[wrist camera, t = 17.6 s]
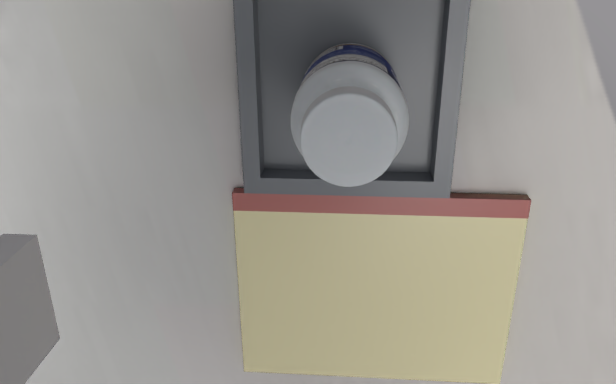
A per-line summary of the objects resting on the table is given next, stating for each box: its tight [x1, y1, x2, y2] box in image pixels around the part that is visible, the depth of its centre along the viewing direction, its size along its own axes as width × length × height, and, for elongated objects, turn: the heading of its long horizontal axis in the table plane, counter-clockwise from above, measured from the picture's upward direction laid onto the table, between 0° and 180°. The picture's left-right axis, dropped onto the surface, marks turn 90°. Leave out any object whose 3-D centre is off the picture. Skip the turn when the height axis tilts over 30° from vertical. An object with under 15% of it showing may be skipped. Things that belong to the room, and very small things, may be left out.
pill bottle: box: [291, 43, 409, 187], centre depth 26 cm, size 5×5×10 cm
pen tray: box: [233, 0, 471, 198], centre depth 30 cm, size 12×12×2 cm
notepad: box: [232, 188, 531, 384], centre depth 36 cm, size 18×14×1 cm
